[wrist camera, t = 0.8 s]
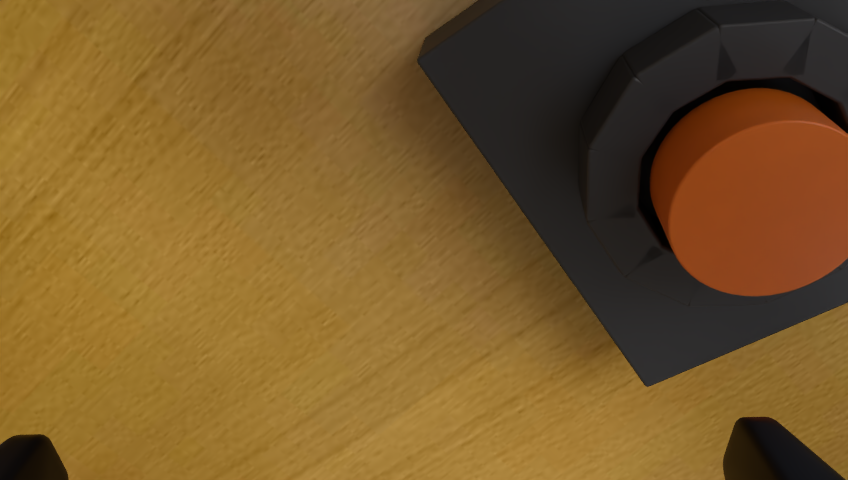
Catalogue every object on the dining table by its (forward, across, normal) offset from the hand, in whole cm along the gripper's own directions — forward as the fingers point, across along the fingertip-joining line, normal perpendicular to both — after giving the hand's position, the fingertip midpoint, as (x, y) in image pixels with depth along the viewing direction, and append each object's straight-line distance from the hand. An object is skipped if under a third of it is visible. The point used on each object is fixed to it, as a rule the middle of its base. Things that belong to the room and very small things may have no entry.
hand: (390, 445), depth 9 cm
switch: (+8, -8, +1) cm, 11 cm away
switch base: (+11, -8, +1) cm, 14 cm away
